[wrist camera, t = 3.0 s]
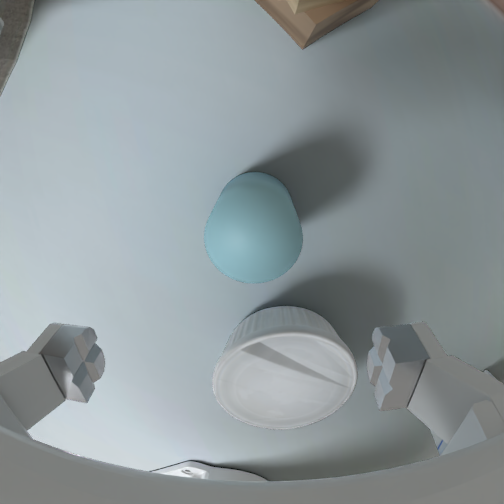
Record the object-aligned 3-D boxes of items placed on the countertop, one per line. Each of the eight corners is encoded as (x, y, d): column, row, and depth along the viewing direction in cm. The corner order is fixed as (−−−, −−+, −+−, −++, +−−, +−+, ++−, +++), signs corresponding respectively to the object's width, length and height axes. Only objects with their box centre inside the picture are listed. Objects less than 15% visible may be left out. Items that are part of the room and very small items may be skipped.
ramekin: (350, 288, 25) (367, 326, 20) (339, 384, 29) (348, 424, 24) (211, 295, 25) (199, 335, 20) (227, 389, 30) (222, 431, 25)
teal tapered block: (243, 254, 24) (237, 297, 18) (204, 196, 22) (185, 224, 17) (305, 221, 23) (319, 256, 17) (268, 158, 21) (271, 172, 15)
